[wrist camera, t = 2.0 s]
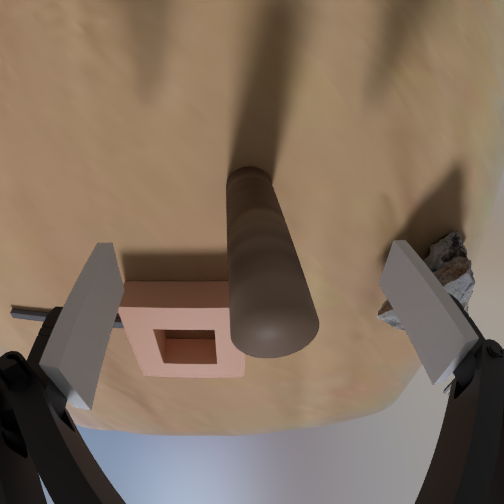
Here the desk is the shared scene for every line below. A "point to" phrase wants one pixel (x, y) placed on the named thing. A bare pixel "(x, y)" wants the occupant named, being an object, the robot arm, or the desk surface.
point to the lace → (42, 315)
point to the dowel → (264, 272)
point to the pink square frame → (180, 328)
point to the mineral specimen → (443, 274)
